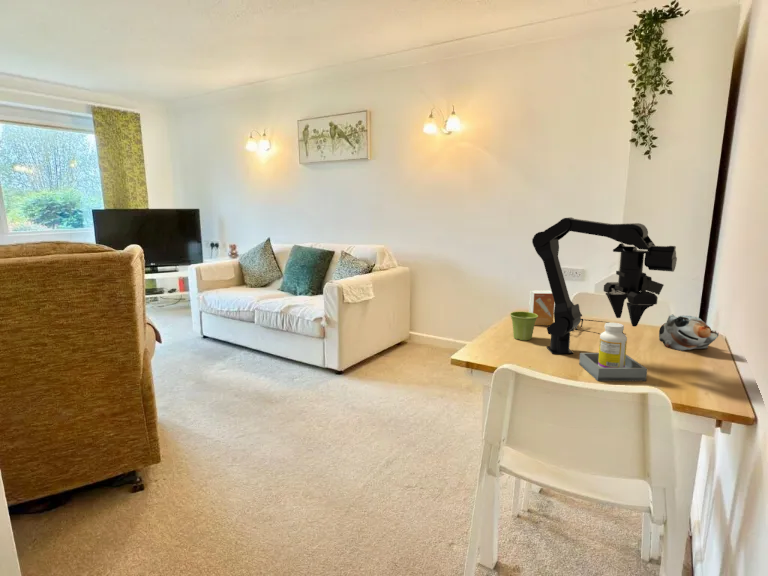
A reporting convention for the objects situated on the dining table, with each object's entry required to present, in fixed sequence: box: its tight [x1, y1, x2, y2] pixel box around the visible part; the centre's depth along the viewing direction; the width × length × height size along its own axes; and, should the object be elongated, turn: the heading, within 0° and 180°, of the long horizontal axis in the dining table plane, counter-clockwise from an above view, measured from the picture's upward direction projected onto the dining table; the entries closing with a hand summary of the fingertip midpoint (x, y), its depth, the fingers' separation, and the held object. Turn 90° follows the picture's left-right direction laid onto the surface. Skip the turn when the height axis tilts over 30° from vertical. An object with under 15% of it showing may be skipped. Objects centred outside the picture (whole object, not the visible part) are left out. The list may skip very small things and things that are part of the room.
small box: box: [528, 289, 555, 326], centre depth 171 cm, size 8×6×13 cm
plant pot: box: [509, 310, 538, 341], centre depth 154 cm, size 9×9×9 cm
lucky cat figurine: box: [658, 313, 720, 352], centre depth 140 cm, size 15×12×14 cm
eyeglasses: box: [572, 318, 625, 336], centre depth 157 cm, size 16×16×4 cm
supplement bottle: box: [598, 322, 628, 368], centre depth 121 cm, size 7×7×13 cm
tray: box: [578, 352, 648, 382], centre depth 122 cm, size 13×13×4 cm
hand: (626, 321), depth 125 cm, fingers open, 9 cm apart
